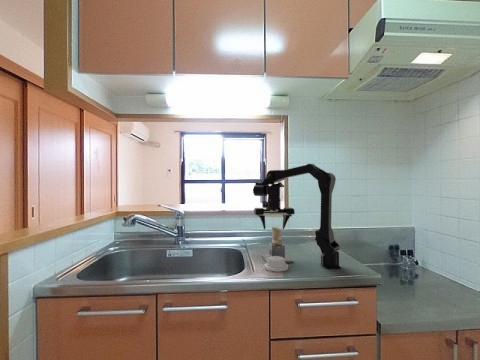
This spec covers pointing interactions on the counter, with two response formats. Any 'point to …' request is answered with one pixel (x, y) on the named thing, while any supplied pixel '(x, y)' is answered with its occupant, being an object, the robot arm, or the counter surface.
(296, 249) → the counter surface
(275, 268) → the mechanical component
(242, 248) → the counter surface
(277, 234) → the birch post
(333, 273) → the counter surface
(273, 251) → the metal stand
